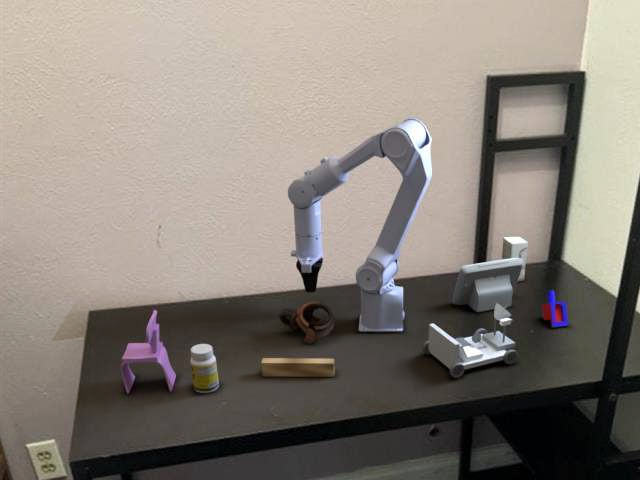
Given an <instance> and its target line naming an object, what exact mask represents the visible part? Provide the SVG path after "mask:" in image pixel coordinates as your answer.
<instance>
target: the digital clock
mask: <svg viewBox="0 0 640 480" xmlns="http://www.w3.org/2000/svg"><path fill="white" fill-rule="evenodd" d="M522 267H523V260H522V259H521V258H510V259H503V260H502V259H498V260H491V261H490V260H489V261H484V262H478V263H472V264H465V265H462V266H461V267H460V269H459V270H458V271H459V272H458V275H457V279H456V283H455V287H454V290H453V293H452V297H451V303H452V304H453V305H455V306H463V305H467V306H469V307H470V308H471V309H472V310H473V311H475V312H476V313H481V312H487V311H493V310H495V306H496V303H498V304H499V305H501V306H502V307H503V308H504V307H505V306H506V305H507V304H509V305H508V307H507V308H509V307H512V301H513V295H514V292H515V290H516V287H517V284H518V282H519V281H518V279H519V276H520V273H521V270H522ZM517 281H518V282H517Z"/></svg>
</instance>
